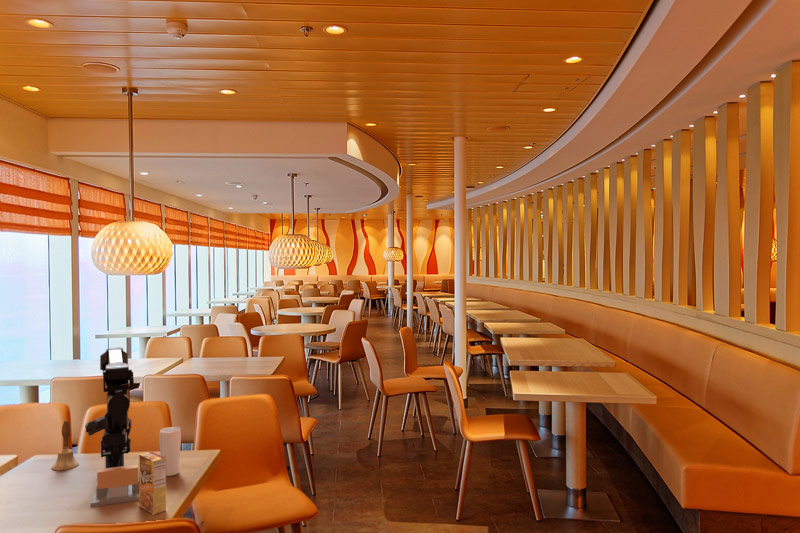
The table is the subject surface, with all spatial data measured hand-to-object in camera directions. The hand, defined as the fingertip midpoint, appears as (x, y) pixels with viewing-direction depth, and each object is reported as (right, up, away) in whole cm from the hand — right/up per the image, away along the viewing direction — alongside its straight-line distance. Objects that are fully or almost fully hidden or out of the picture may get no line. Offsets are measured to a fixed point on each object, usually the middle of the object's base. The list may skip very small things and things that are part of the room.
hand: (117, 458), depth 173 cm
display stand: (0, -12, +1) cm, 12 cm away
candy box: (+14, -12, -8) cm, 20 cm away
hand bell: (-32, -12, +28) cm, 44 cm away
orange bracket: (-1, -8, +2) cm, 8 cm away
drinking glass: (+8, -12, +20) cm, 25 cm away
